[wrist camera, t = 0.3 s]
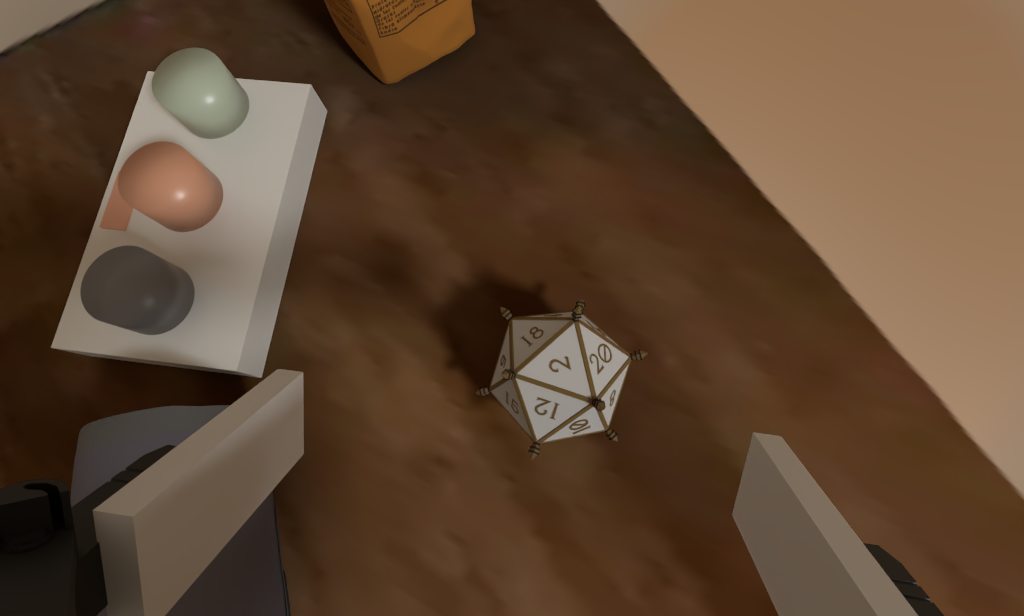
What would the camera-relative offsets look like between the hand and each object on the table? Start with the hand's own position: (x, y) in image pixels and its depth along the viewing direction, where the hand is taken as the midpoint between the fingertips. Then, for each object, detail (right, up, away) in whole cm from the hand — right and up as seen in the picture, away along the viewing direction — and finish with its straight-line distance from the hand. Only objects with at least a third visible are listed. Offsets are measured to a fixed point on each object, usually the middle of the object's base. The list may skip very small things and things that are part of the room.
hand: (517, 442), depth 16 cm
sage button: (-19, +17, +20) cm, 32 cm away
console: (-21, +10, +22) cm, 32 cm away
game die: (+3, -1, +19) cm, 19 cm away
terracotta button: (-20, +11, +18) cm, 29 cm away
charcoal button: (-21, +4, +16) cm, 27 cm away
